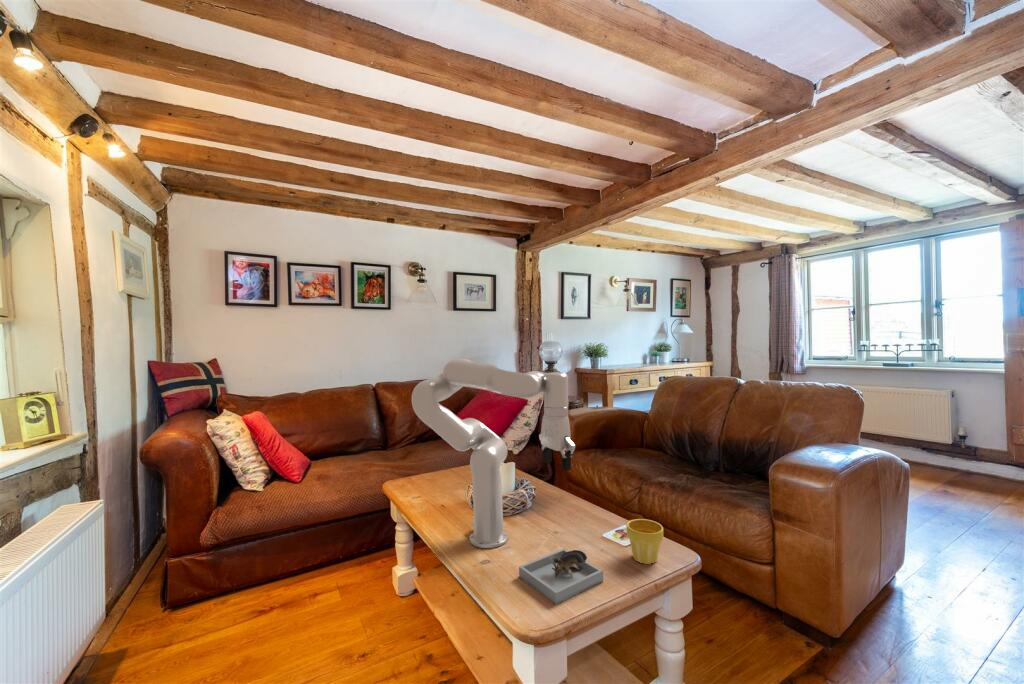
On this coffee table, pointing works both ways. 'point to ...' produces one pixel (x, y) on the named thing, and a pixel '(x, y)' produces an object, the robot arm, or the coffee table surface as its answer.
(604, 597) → the coffee table surface
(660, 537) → the plant pot
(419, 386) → the robot arm
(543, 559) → the bin
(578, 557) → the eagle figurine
